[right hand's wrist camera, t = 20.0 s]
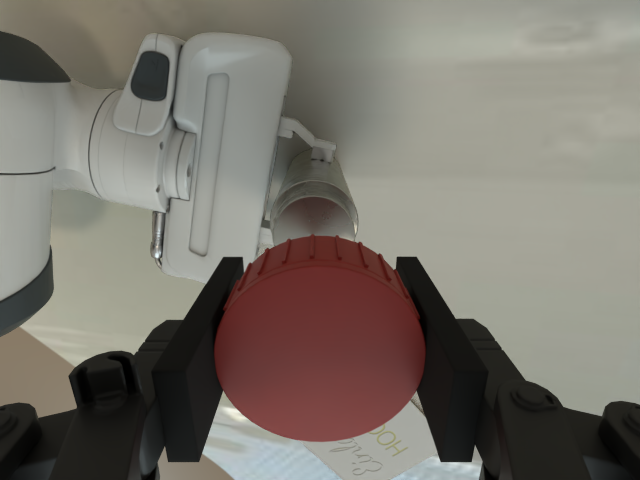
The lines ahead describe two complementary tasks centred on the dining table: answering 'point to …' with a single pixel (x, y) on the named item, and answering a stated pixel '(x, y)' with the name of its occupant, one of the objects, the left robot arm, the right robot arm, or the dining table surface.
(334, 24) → the dining table surface
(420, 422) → the invitation card
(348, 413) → the lid
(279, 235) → the grey cylindrical bottle
